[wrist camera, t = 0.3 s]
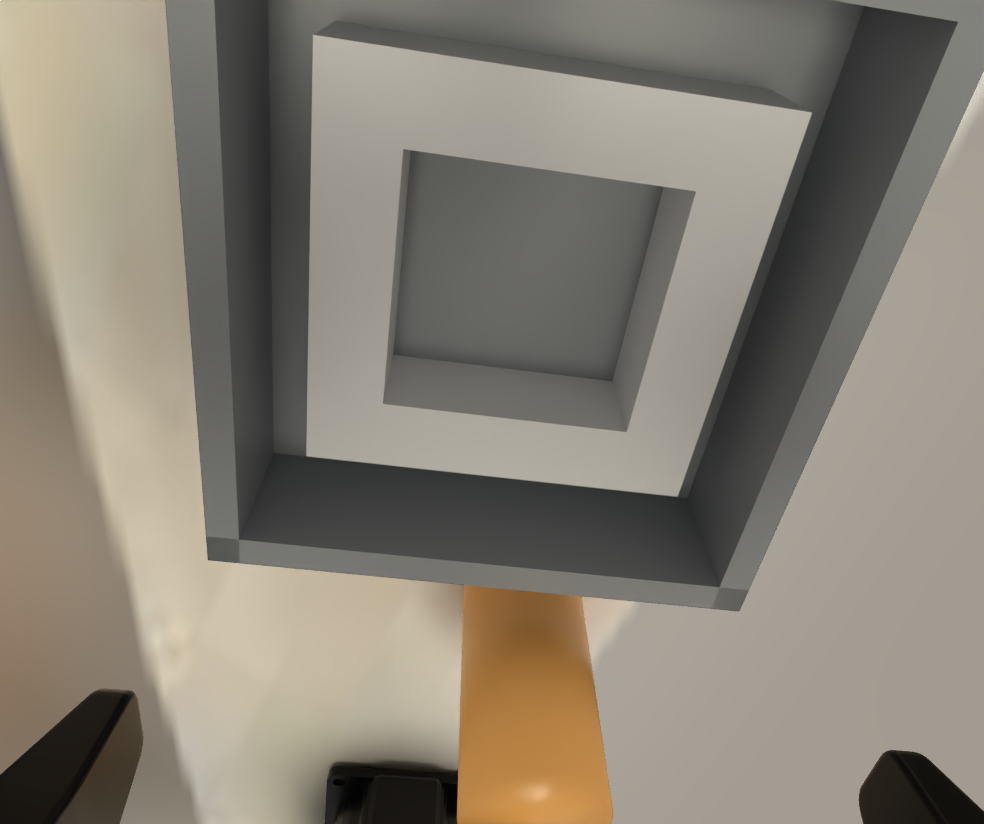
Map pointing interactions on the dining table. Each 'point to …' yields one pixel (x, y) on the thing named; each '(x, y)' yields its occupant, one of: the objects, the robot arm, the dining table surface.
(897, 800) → the robot arm
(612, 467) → the inlet box
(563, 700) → the plug
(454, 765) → the dining table surface
